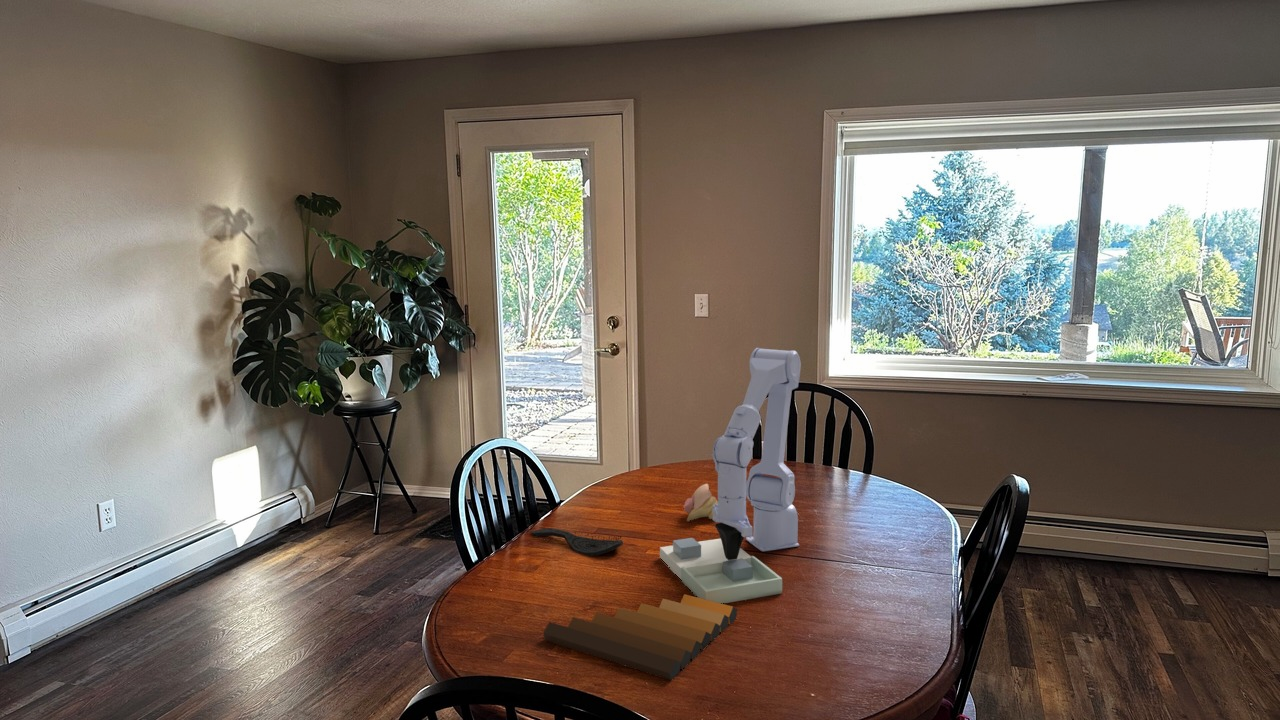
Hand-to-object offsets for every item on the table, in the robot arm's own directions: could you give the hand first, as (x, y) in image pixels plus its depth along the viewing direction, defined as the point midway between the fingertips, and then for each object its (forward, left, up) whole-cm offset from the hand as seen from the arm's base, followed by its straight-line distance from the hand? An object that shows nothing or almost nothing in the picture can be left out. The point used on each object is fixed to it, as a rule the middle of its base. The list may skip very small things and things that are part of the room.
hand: (731, 558), depth 164 cm
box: (+3, +6, -3) cm, 7 cm away
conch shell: (-7, -32, -3) cm, 33 cm away
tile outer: (+7, -7, -1) cm, 10 cm away
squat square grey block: (0, +2, -3) cm, 4 cm away
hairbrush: (+26, -27, -4) cm, 38 cm away
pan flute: (+25, +16, -4) cm, 30 cm away
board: (+3, -6, -3) cm, 8 cm away
